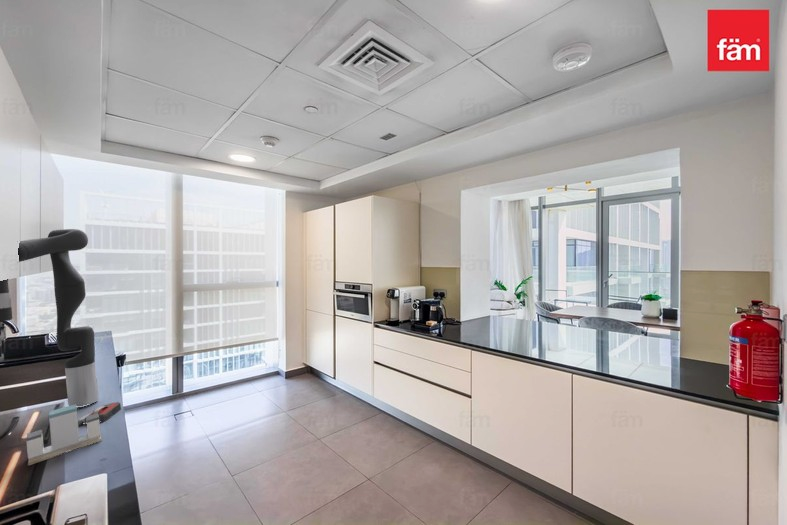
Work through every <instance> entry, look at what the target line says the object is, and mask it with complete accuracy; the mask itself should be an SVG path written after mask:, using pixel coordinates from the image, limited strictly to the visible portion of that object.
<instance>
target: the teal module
mask: <svg viewBox="0 0 787 525" xmlns="http://www.w3.org/2000/svg"><path fill="white" fill-rule="evenodd" d="M77 410H78V409H77V407H76V404H75V405H72V406H68V405H67V406H64V407H61V408H58V409H53V410H49V414H48V420H49V431H50V441H51V443H50V444H51V446H52V451H53V450H57V449H60V448H63V447H66V446H69V445H72V444H75V443H78V442H79V437H80V433H79V431H80V430H79V426H78V420H79V419H78V411H77Z"/></svg>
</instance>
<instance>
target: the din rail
mask: <svg viewBox="0 0 787 525" xmlns="http://www.w3.org/2000/svg"><path fill="white" fill-rule="evenodd" d="M100 436H101V435H99V436H95V437H92V438H89V439H88V434H87V433H86V434H84V435H79V442H78V443H75V444H72V445H69V446H66V447H63V448H60V449H57V450H53V451H52V445H49V446H46V447H45V446H44V450H43V454H41V455H38V456H35V457H32V458H29V459H28V460H29V461H32V460H35V459H38V458H41V457H44V456H47V455H50V454H53V453H56V452H59V451H62V450H65V449H68V448H71V447H74V446H77V445H80V444H83V443H86V442H89V441H92V440H95V439H98V438H100Z"/></svg>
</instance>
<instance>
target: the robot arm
mask: <svg viewBox="0 0 787 525" xmlns="http://www.w3.org/2000/svg"><path fill="white" fill-rule="evenodd" d="M88 244H89V238H88V235H87V234H86V232H84V231H83V230H82V229H81V230H80V229H77V228H66V229H55V230H52V231H50V232H49V233H48V236H47V237H42V238H41V237H39V238H33V239H25V240H20V243H19V248H18V255H19V262H25V261H28V260H29V261H30V260H31V259H32V260H33V259H37V258H39V257H43V256H46V255H49V257H50V260H51V265H52V266H51V267H52V273H53V286H54V288H53V289H54V300H55V306H56V308H55V309H56V344H57V348H58V349H59V350H60V351H62V352H68V351H77V350H80V353H79V354H78V355H75V356H73V357H71V358H68V359H67V360H65V361H64V371H65V384H66V393H67V395H66V396H67V406H68V405H69V406H72V405H75V404H76V406H83V405H87V404H91V403H93V402H95V401H97V400H98V401H99V399H98V397H99V385H98V377H97V372H96V361H95V360H96V359H95V358H96V357H95V356H96V353H95V352H96V350H95V331H94V329H93V328H92V327H91V326H89V325H88V326H79V327H72V326H71V325H72V319H73V317H74V314H75V313H76V312H77V310H78V309H79V307H80V306H81V305H82V303H83V302H84V300H85V298H86V296H87V295H86V282H85V279H84V278H83V277H82V275H81V274H80V273H79V272H78V271H77V269H76V268H75V267H74V266H73V263H72V262H71V258H70V252H73V251H74V252H75V251H80V250H83V249H85V248H86V247H87V245H88ZM19 262H18V263H19ZM12 309H13V308H12V299H11V296H10V288H9V279H7V280H3V281H0V358H2V356H3V355H4V354H6V345H5V342H6V339H7V333H6V331H7V327H6V325H5V323H4V322H9V321H11V320H13V311H12Z"/></svg>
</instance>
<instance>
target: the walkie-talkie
mask: <svg viewBox="0 0 787 525" xmlns="http://www.w3.org/2000/svg"><path fill="white" fill-rule="evenodd" d="M121 409H122V405H121V402H119V401H117V402H111V403H103V405H101V406H98V407H97V408H96V409H94V410H93V411H92V412H90V413H88V414H85V415H84V416H82V417H81V418H79V419H78V427H79V425H80V426H82V425H81V424H83V423H85V424H86V423H87V422H86V416H90V415H93V414H97V413H98V415H99V422H100V421H103V422H106V421H108V420H109V419H110V418H112V416H114V415H115V414H116V413H118V412H119V411H120V410H121ZM108 418H109V419H108ZM105 420H106V421H105ZM100 423H101V422H100ZM85 424H83V425H85Z"/></svg>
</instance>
